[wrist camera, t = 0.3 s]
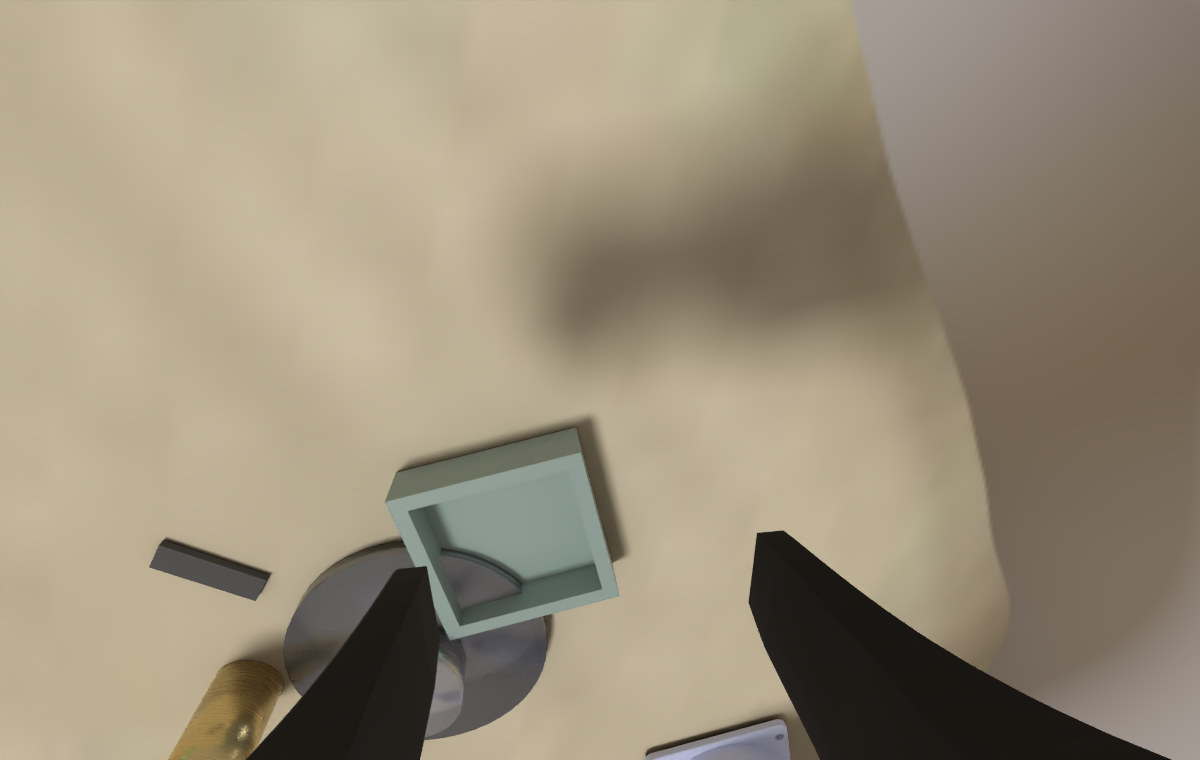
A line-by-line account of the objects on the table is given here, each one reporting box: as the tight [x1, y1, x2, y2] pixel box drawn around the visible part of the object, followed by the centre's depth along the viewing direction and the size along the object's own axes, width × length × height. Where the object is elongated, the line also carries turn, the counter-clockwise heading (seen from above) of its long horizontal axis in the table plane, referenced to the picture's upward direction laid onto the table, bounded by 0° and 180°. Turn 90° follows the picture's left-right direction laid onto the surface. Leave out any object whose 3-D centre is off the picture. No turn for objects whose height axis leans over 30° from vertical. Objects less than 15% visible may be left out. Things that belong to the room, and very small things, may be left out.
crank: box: [425, 631, 466, 737], centre depth 23 cm, size 10×4×4 cm, turn 147°
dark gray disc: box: [284, 541, 547, 740], centre depth 25 cm, size 11×11×1 cm
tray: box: [385, 427, 619, 640], centre depth 22 cm, size 7×7×2 cm
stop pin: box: [168, 661, 283, 760], centre depth 22 cm, size 3×3×6 cm
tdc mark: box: [149, 540, 269, 601], centre depth 22 cm, size 4×1×1 cm, turn 57°
